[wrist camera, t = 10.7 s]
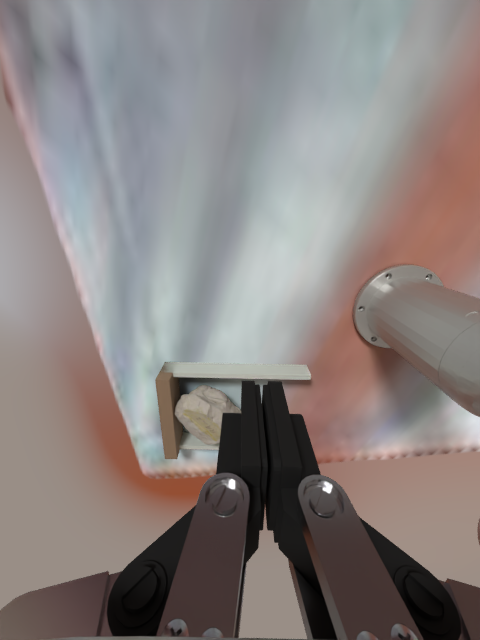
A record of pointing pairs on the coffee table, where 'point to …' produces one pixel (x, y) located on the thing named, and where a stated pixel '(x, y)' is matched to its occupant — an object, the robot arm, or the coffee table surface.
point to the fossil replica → (204, 412)
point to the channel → (173, 370)
